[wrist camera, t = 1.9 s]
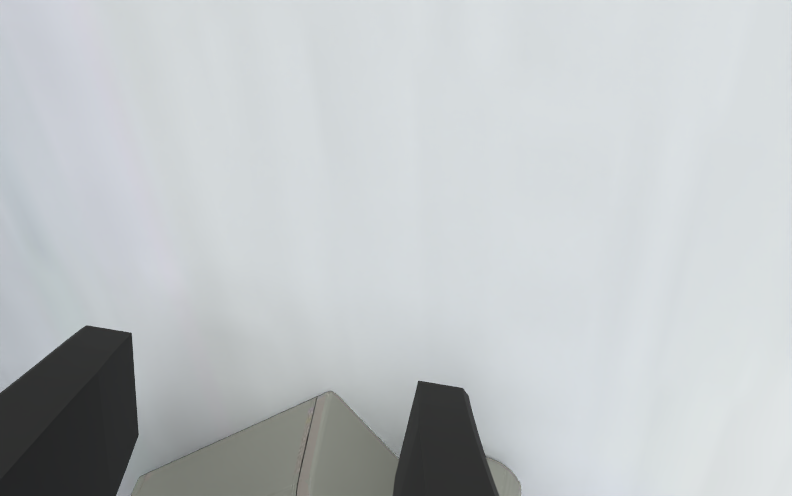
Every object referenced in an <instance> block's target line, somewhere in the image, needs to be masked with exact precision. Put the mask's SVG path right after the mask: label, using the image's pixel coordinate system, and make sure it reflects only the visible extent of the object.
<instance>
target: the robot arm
mask: <svg viewBox="0 0 792 496" xmlns="http://www.w3.org/2000/svg"><path fill="white" fill-rule="evenodd" d="M137 438H138V421H137V406H136V391H135V376H134V362H133V347H132V333H129V332H123V331H117V330H111V329H105V328H99V327H93V326H85V327H84V328H82V329H80V330H79V331H78V332H76V333H75V334H74V335H73V336H71V337H70V338H69V339H68V340H66V341H65V342H64V343H62V344H61V345H60V346H59V347H57V348H56V349H55V350H54V351H53V352H51V353H50V354H49V355H48V356H46V357H45V358H44V359H43V360H41V361H40V362H39V363H38V364H36V365H35V366H34V367H33V368H31V369H30V370H29V371H28V372H26V373H25V374H24V375H23V376H21V377H20V378H19V379H17V380H16V381H15V382H14V383H12V384H11V385H10V386H9V387H7V388H6V389H5V390H3V391H2V392H1V393H0V496H116V494H117V491H118V489H119V486H120V484H121V481H122V479H123V476H124V473H125V471H126V468H127V465H128V462H129V460H130V457H131V454H132V452H133V449H134V446H135V443H136V441H137ZM393 496H499V493H498V491H497V488H496V485H495V482H494V480H493V477H492V474H491V471H490V468H489V465H488V462H487V459H486V456H485V453H484V450H483V447H482V444H481V441H480V437H479V434H478V431H477V427H476V424H475V420H474V416H473V413H472V409H471V405H470V400H469V396H468V394H467V393H466V392H465V391H464V389H463V388H459V387H453V386H447V385H441V384H435V383H429V382H423V381H418V385H417V389H416V393H415V397H414V401H413V405H412V409H411V413H410V417H409V421H408V425H407V429H406V433H405V438H404V442H403V446H402V450H401V454H400V458H399V462H398V466H397V470H396V474H395V480H394V488H393Z"/></svg>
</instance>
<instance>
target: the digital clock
mask: <svg viewBox="0 0 792 496" xmlns="http://www.w3.org/2000/svg"><path fill="white" fill-rule="evenodd" d="M486 459H487V462H488V465H489V468H490V471H491V474H492V477H493V480H494V482H495V485H496V488H497V491H498V493H499V496H521V485H520V482H519V481H518V479H517V477H516V476H515V475H514V473H513V472H512V471H511V470H510V469H508V468H507V467H506V466H505V465H503V464H502V463H500V462H498V461H495V460H492V459H490V458H486ZM398 462H399V459H398V458H397V457H396V456H395V455H394V454H393V453H392V452H391V451H390V450H389V448H388V447H387V446H386V445H385V444H384V443H383V442H382V441H381V440H380V439H379V438H378V437H377V436H376V435H375V434H374V433H373V432H372V431H371V430H370V428H369V427H368V426H367V425H366V424H365V423H364V422H363V421H362V420H361V419H360V418H359V417H358V416H357V415H356V414H355V413H354V412H353V411H352V410H351V409H350V407H349V406H348V405H347V404H346V403H345V402H344V401H343V400H342V399H341V398H340V397H339V396H338V395H337V394H336V393H334V392H332V391H329V392H327V393H324V394H322V395H320V396H318V397H315V398H313V399H311V400H309V401H307V402H304V403H302V404H300V405H298V406H296V407H293V408H291V409H289V410H287V411H284V412H282V413H280V414H278V415H276V416H273V417H271V418H269V419H267V420H264V421H262V422H260V423H258V424H256V425H253V426H251V427H249V428H247V429H245V430H242V431H240V432H238V433H236V434H233V435H231V436H229V437H227V438H225V439H222V440H220V441H218V442H216V443H213V444H211V445H209V446H207V447H205V448H202V449H200V450H198V451H196V452H194V453H191V454H189V455H187V456H185V457H182V458H180V459H178V460H176V461H174V462H171V463H169V464H167V465H165V466H162V467H160V468H158V469H156V470H154V471H151V472H149V473H147V474H145V475H143V476H140V477H139V479H138V481H137V483H136V485H135V488H134V490H133V492H132V494H131V496H393V488H394V480H395V474H396V470H397V466H398Z"/></svg>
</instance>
